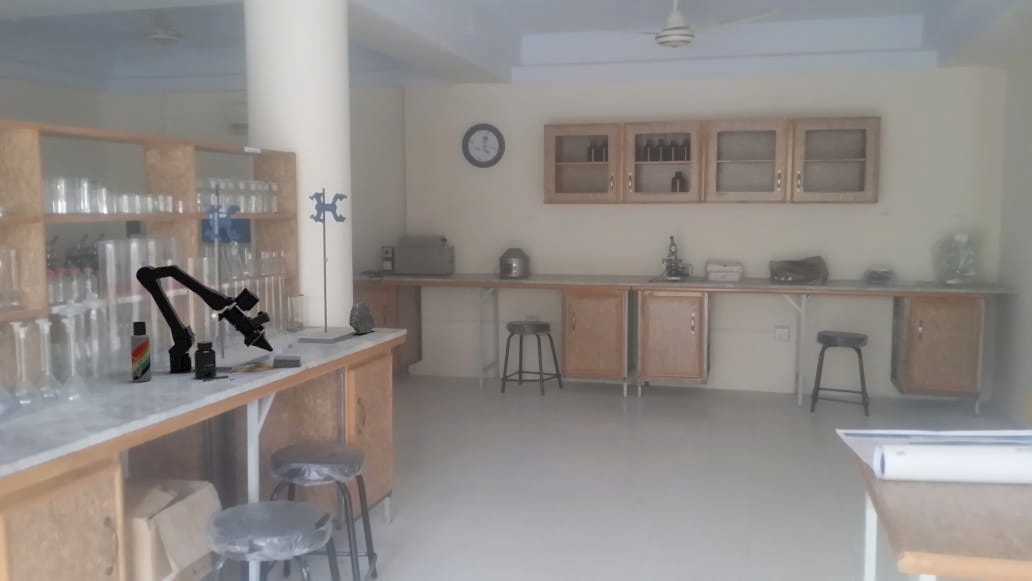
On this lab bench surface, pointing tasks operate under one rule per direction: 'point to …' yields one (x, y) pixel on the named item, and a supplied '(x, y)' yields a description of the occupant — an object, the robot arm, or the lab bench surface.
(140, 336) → the lotion bottle
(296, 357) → the thick grey slab block
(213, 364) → the supplement bottle
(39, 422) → the lab bench surface
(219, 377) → the metal turner
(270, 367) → the cork mat
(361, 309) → the decorative rock
